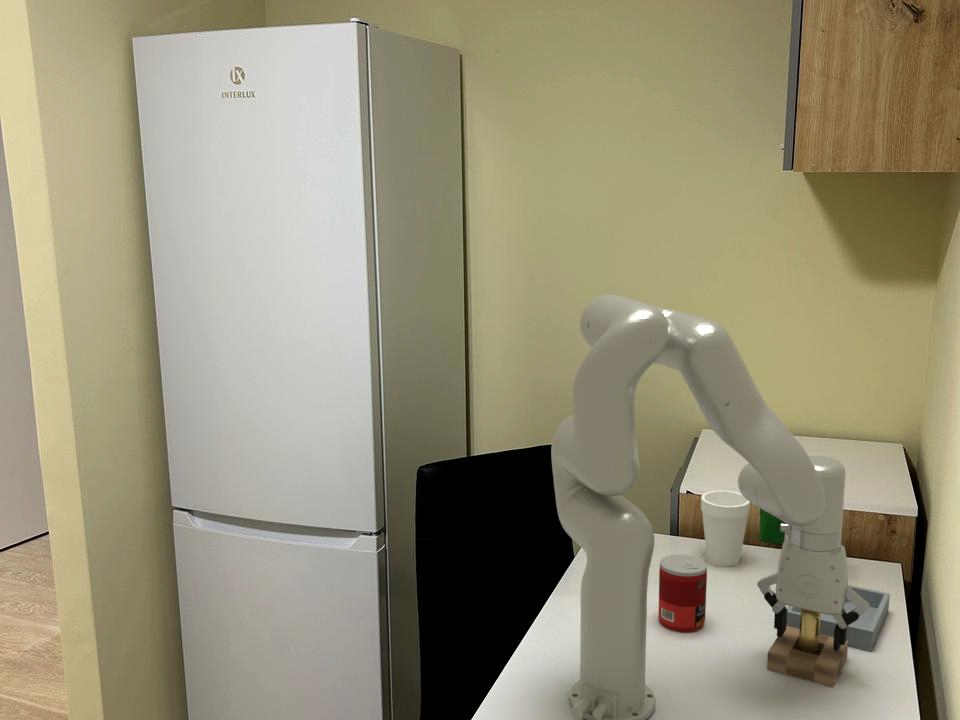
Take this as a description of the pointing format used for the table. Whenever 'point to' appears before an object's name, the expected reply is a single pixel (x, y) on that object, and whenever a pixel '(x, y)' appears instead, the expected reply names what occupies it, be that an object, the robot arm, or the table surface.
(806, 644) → the pin
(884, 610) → the pin tray
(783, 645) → the pin bracket
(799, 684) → the table surface
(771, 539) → the milk carton
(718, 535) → the foam cup
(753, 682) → the table surface
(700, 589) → the canned food
